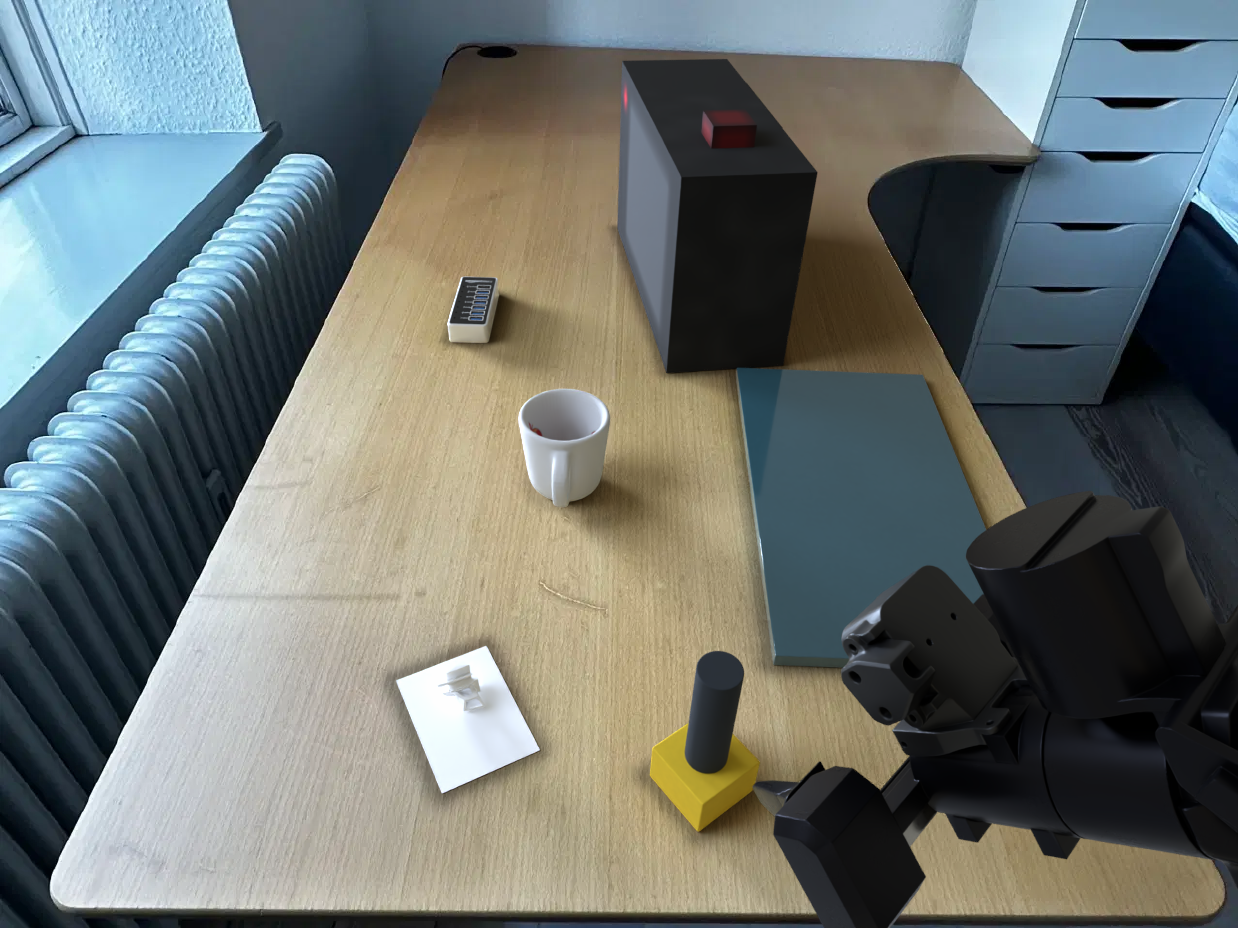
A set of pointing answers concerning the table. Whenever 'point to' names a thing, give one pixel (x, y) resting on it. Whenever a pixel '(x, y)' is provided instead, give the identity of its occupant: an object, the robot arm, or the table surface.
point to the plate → (847, 499)
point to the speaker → (710, 213)
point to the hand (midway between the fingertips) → (811, 737)
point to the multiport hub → (473, 310)
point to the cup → (564, 443)
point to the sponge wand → (707, 746)
